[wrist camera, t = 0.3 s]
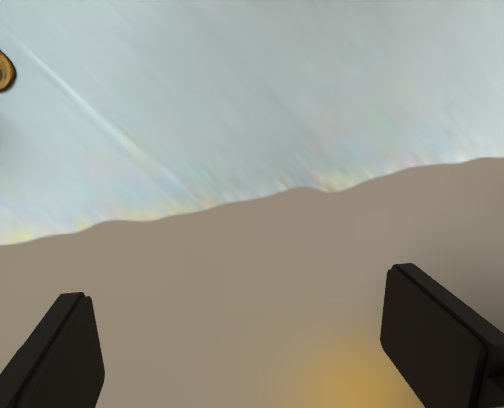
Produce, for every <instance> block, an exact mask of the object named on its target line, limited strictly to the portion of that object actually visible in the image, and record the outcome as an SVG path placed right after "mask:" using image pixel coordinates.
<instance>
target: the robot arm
mask: <svg viewBox="0 0 504 408" xmlns="http://www.w3.org/2000/svg"><path fill="white" fill-rule="evenodd" d="M380 341H381V345H382V348H383V350H384V351H385V353H386V354H387V355H388V357H389V358H390V359H391V361H392V362H393V364H394V365H395V366H396V368H397V369H398V371H399V372H400V373H401V375H402V376H403V377H404V379H405V380H406V382H407V383H408V384H409V386H410V387H411V388H412V389H413V391H414V392H415V394H416V395H417V397H418V398H419V399H420V401H421V402H422V404H423V405H424V406H425V408H504V334H503V333H502V332H501V331H500V330H498V329H497V328H496V327H494V326H493V325H492V324H491V323H489V322H488V321H487V320H485V319H484V318H483V317H481V316H480V315H479V314H478V313H476V312H475V311H474V310H473V309H471V308H470V307H469V306H467V305H466V304H465V303H463V302H462V301H461V300H460V299H458V298H457V297H456V296H454V295H453V294H452V293H451V292H449V291H448V290H447V289H445V288H444V287H443V286H442V285H440V284H439V283H438V282H436V281H435V280H433V279H432V278H431V277H430V276H428V275H427V274H426V273H425V272H423V271H422V270H421V269H420V268H418V267H417V266H416V265H414V264H413V263H406V264H395V265H393V267H392V269H390V270H388V272H387V279H386V288H385V297H384V307H383V316H382V326H381V335H380ZM104 377H105V370H104V364H103V359H102V353H101V348H100V342H99V337H98V332H97V326H96V321H95V315H94V310H93V304H92V299H91V297H89V296H87V297H85V295H84V293H83V292H76V293H66V294H61V295H60V296H59V297H58V298H57V299H56V301H55V302H54V304H53V305H52V306H51V308H50V309H49V310H48V312H47V313H46V314H45V316H44V317H43V319H42V320H41V321H40V323H39V324H38V325H37V327H36V328H35V329H34V331H33V332H32V334H31V335H30V336H29V338H28V339H27V340H26V342H25V343H24V345H22V346H21V348H20V349H19V350H18V351H17V352H16V354H15V355H14V356H13V358H12V359H11V360H10V362H9V363H8V365H7V366H6V367H5V368H4V370H3V371H2V373H1V374H0V408H95V406H96V403H97V400H98V398H99V395H100V392H101V389H102V386H103V383H104Z"/></svg>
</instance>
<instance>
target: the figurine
mask: <svg viewBox="0 0 504 408" xmlns="http://www.w3.org/2000/svg"><path fill="white" fill-rule="evenodd" d="M15 78H16V70H15V68H14V66H13V64H12V62H11V61H10V60H9V58H8V57H7V56H6V55H5V54H4V53H3V52H2V51H1V50H0V92H2V91H4V90H5V89H7V88H8V87H9V86H10V85H11V83H12V82H13V81H14V79H15Z"/></svg>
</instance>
